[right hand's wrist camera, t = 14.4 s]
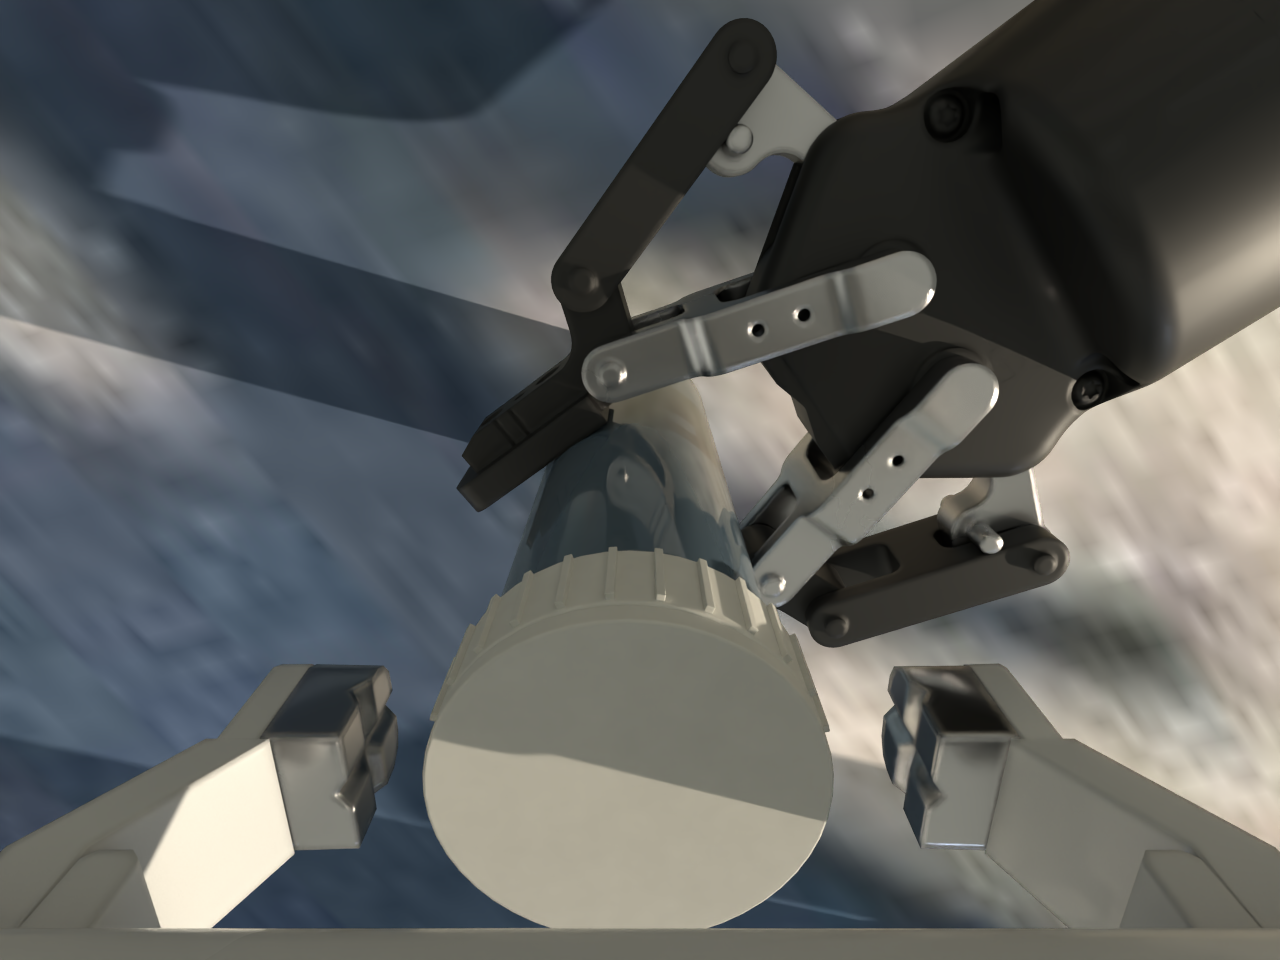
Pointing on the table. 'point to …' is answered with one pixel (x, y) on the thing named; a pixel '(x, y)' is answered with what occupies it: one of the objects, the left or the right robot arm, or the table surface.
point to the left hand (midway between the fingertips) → (545, 565)
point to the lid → (628, 747)
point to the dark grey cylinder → (638, 491)
